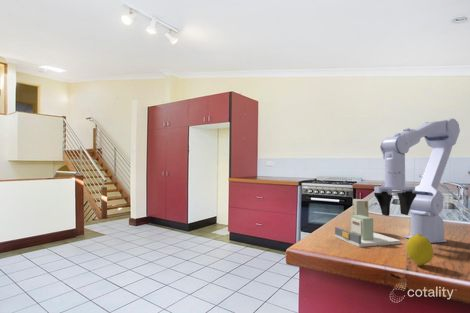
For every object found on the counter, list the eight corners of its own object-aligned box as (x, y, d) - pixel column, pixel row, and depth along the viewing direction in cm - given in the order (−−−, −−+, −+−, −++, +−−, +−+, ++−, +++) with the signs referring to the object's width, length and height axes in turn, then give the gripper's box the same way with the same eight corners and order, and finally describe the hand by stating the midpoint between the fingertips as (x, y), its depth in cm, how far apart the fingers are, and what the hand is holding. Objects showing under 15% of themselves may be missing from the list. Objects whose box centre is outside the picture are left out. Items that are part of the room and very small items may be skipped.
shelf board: (372, 234, 99) (372, 225, 99) (400, 243, 87) (400, 233, 87) (334, 237, 94) (334, 227, 95) (357, 247, 83) (357, 235, 83)
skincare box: (369, 233, 100) (369, 201, 100) (356, 233, 101) (356, 200, 101) (364, 230, 106) (364, 199, 106) (352, 229, 107) (352, 198, 107)
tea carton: (360, 235, 94) (360, 214, 94) (373, 239, 88) (373, 218, 88) (349, 235, 93) (349, 215, 93) (362, 240, 87) (362, 218, 87)
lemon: (438, 270, 64) (437, 237, 65) (413, 269, 65) (412, 236, 66) (426, 262, 70) (425, 231, 70) (402, 261, 71) (402, 230, 71)
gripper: (402, 173, 93) (402, 212, 93) (367, 172, 89) (367, 213, 89) (420, 173, 86) (421, 215, 86) (384, 173, 83) (384, 217, 82)
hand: (395, 214), depth 87 cm, fingers open, 7 cm apart
